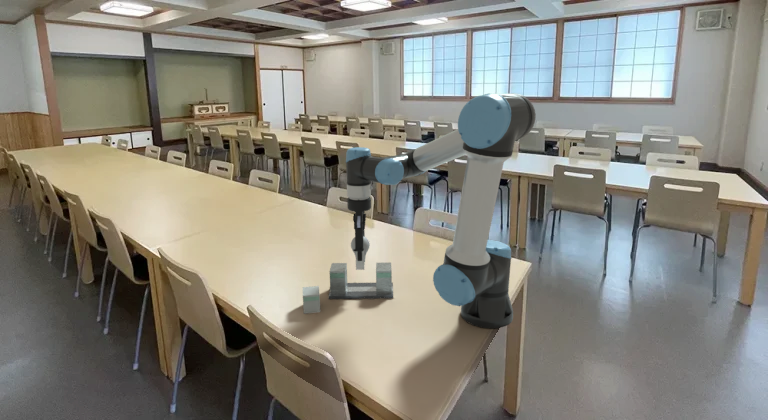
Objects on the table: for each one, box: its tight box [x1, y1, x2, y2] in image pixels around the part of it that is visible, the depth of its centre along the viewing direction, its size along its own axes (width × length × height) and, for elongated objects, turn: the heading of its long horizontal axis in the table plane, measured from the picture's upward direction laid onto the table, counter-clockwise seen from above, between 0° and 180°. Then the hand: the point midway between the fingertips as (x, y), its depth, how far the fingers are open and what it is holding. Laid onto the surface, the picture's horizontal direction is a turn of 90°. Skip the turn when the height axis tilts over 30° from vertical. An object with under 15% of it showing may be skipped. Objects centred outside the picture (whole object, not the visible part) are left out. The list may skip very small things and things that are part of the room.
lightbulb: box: [350, 236, 371, 266], centre depth 145 cm, size 6×6×11 cm
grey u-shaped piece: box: [328, 261, 394, 300], centre depth 148 cm, size 10×21×9 cm, turn 90°
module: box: [302, 285, 321, 314], centre depth 137 cm, size 6×5×6 cm
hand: (360, 265), depth 146 cm, fingers closed on lightbulb, 6 cm apart
